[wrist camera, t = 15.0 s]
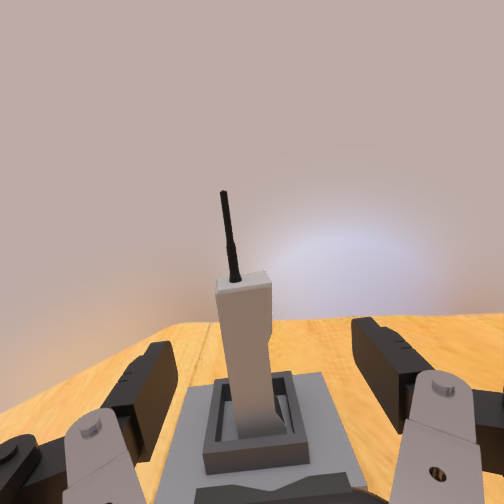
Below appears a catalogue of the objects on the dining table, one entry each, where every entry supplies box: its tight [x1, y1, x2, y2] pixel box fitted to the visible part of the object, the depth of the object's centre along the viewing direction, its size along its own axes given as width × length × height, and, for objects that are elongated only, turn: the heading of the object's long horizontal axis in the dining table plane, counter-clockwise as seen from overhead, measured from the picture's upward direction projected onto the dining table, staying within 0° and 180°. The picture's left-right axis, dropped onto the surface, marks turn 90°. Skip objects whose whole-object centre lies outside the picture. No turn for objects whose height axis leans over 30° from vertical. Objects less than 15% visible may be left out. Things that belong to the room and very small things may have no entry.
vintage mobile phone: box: [215, 190, 287, 439], centre depth 26 cm, size 4×5×25 cm
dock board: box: [154, 371, 368, 504], centre depth 29 cm, size 18×14×4 cm
